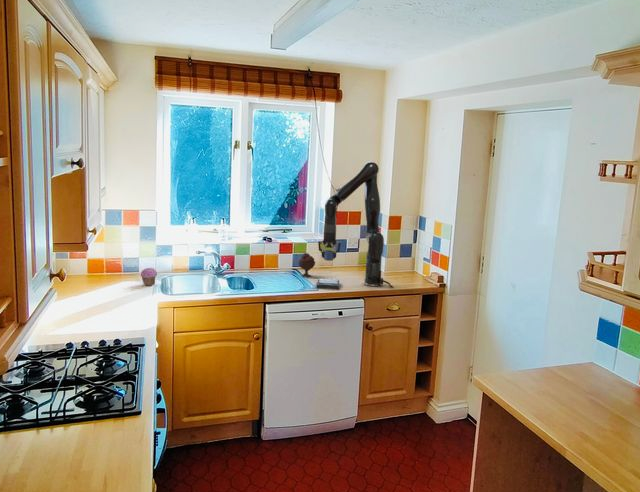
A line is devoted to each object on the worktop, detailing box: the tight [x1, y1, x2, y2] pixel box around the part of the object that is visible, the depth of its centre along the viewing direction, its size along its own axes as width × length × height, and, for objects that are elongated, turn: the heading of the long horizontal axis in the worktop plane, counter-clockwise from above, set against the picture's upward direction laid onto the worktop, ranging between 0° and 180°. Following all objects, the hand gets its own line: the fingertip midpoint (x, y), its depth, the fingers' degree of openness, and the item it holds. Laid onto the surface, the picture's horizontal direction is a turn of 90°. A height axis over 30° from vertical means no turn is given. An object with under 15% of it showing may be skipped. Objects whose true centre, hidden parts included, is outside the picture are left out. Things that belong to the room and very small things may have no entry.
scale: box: [316, 278, 340, 290], centre depth 280 cm, size 13×13×3 cm
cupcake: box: [140, 267, 158, 287], centre depth 269 cm, size 9×9×10 cm
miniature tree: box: [297, 252, 316, 278], centre depth 302 cm, size 11×11×15 cm
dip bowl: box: [323, 249, 335, 262], centre depth 286 cm, size 6×6×5 cm
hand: (328, 258), depth 286 cm, fingers closed on dip bowl, 6 cm apart
